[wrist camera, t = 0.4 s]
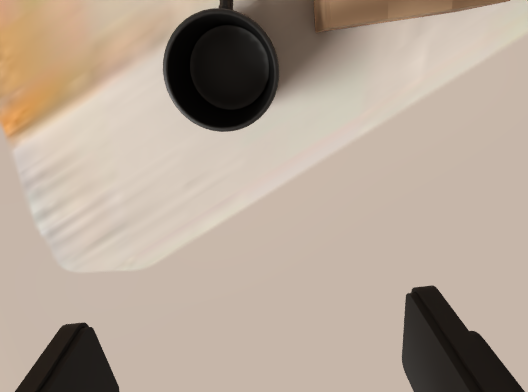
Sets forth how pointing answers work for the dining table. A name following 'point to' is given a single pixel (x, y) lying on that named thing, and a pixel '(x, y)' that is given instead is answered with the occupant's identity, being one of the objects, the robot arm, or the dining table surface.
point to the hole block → (383, 11)
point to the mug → (221, 69)
